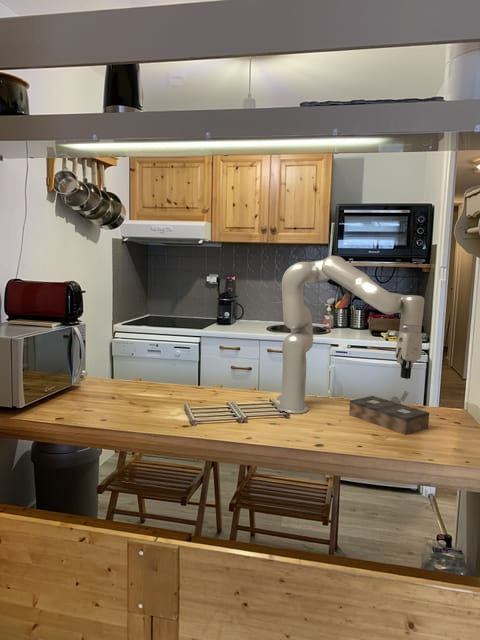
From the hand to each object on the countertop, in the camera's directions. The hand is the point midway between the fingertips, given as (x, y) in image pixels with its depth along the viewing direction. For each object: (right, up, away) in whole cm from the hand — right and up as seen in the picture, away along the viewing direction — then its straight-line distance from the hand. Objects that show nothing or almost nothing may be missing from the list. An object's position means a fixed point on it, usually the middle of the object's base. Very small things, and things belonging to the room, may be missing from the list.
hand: (405, 377), depth 179 cm
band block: (-4, -18, +8) cm, 20 cm away
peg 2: (0, -19, +2) cm, 19 cm away
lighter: (+5, -16, +25) cm, 30 cm away
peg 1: (-9, -17, +13) cm, 23 cm away
